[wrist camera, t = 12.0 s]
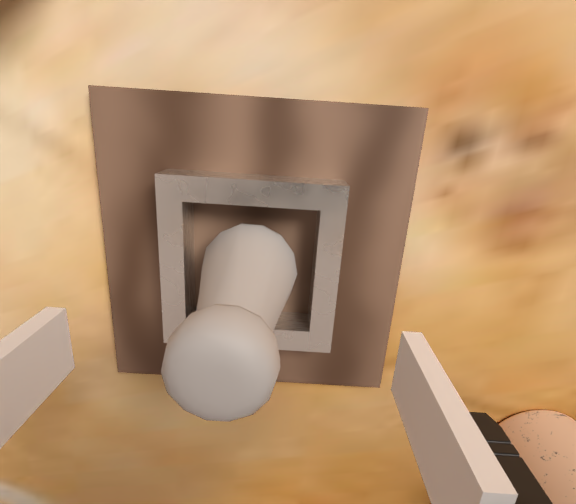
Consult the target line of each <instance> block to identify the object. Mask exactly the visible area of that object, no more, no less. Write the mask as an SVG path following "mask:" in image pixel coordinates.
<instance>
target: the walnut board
mask: <svg viewBox="0 0 576 504" xmlns="http://www.w3.org/2000/svg"><path fill="white" fill-rule="evenodd" d="M88 88H89V97H90V107H91V116H92V126H93V136H94V145H95V155H96V164H97V174H98V184H99V193H100V203H101V212H102V222H103V232H104V241H105V251H106V260H107V270H108V280H109V289H110V299H111V308H112V318H113V328H114V337H115V347H116V356H117V366H118V372H127V373H144V374H160V375H162V374H161V368H162V363H163V359H164V354H165V349H166V346H167V343H164V339H163V321H162V303H161V284H160V266H159V248H158V229H157V211H156V193H155V173H158V172H161V171H163V170H166V169H181V170H197V171H212V172H227V173H243V174H258V175H273V176H289V177H304V178H319V179H335V180H344V181H345V182H346V183H347V184H348V185H349V186H350V189H349V197H348V206H347V215H346V223H345V232H344V240H343V249H342V257H341V266H340V274H339V283H338V291H337V300H336V308H335V317H334V325H333V334H332V342H331V351H330V353H322V352H306V351H290V350H279V355H280V371H279V374H278V377H277V380H276V381H277V382H294V383H311V384H328V385H344V386H361V387H378V388H380V383H381V378H382V372H383V366H384V360H385V355H386V349H387V343H388V338H389V332H390V326H391V320H392V315H393V309H394V303H395V297H396V292H397V286H398V280H399V275H400V269H401V263H402V257H403V252H404V246H405V240H406V235H407V229H408V223H409V217H410V212H411V206H412V200H413V194H414V189H415V183H416V177H417V172H418V166H419V160H420V154H421V149H422V143H423V137H424V131H425V126H426V120H427V114H428V109H429V108H418V107H403V106H388V105H373V104H359V103H344V102H329V101H314V100H299V99H284V98H269V97H254V96H240V95H225V94H210V93H195V92H180V91H165V90H150V89H136V88H121V87H106V86H91V85H88ZM193 211H194V259H195V306H197V303H198V297H199V290H200V280H201V271H202V264H203V260H204V255H205V251H206V247H207V246H208V245H209V244H210V243H211V242H212V241H213V240H214V239H215V238H216V237H217V236H218V235H219V233H220V232H222V231H225V230H227V229H230V228H232V227H234V226H237V225H239V224H253V225H263V226H265V227H267V228H269V229H271V230H273V231H274V232H276V233H278V234H280V235H282V237H283V238H284V240H285V241H286V242H287V244H288V245H289V247H290V248H291V249H292V251H293V253H294V256H295V263H296V269H297V276H296V279H295V282H294V285H293V288H292V291H291V294H290V296H289V298H288V300H287V302H286V304H285V306H284V308H283V310H282V312H297V313H308V307H309V296H310V285H311V274H312V263H313V252H314V241H315V230H316V219H317V210H302V209H287V208H271V207H256V206H240V205H224V204H209V203H193Z"/></svg>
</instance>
